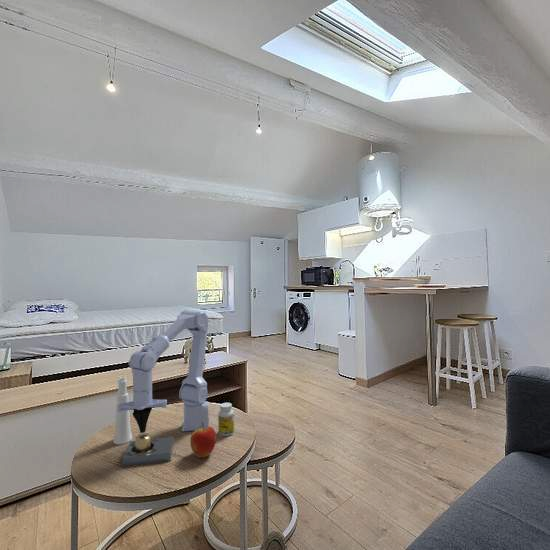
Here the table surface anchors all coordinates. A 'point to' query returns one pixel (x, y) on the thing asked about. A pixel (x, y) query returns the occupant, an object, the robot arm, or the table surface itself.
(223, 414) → the supplement bottle
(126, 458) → the plate
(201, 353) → the robot arm
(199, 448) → the apple
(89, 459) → the table surface
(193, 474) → the table surface
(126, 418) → the cosmetic bottle
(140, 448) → the bushing
